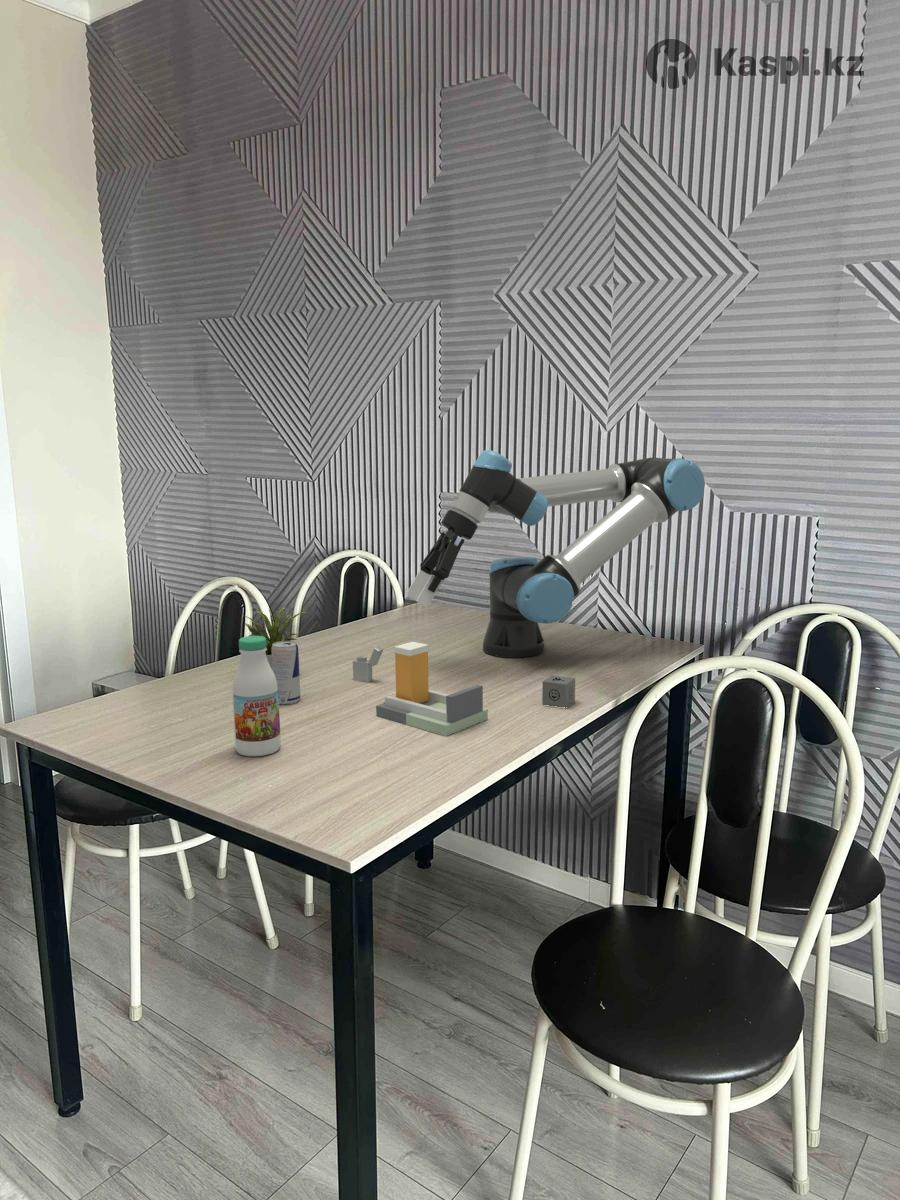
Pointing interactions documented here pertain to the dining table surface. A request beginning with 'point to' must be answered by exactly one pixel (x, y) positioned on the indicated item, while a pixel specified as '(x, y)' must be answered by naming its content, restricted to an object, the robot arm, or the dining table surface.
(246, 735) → the milk bottle
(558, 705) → the dice cube
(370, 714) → the dining table surface
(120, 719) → the dining table surface
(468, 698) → the grey rail tray
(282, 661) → the energy drink
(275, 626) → the house plant
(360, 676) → the lighter
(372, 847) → the dining table surface
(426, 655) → the block
